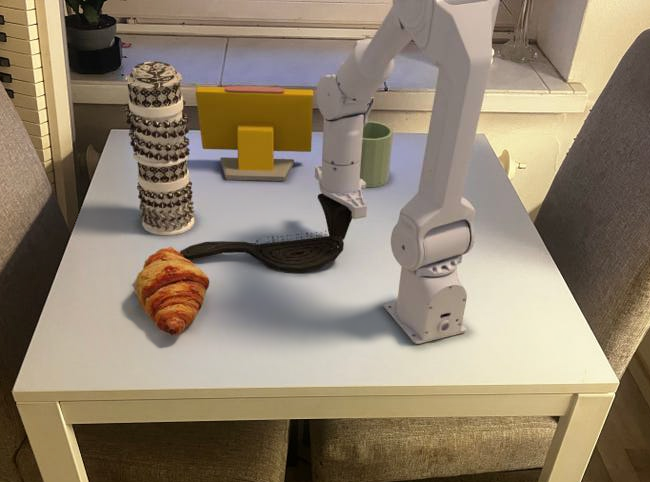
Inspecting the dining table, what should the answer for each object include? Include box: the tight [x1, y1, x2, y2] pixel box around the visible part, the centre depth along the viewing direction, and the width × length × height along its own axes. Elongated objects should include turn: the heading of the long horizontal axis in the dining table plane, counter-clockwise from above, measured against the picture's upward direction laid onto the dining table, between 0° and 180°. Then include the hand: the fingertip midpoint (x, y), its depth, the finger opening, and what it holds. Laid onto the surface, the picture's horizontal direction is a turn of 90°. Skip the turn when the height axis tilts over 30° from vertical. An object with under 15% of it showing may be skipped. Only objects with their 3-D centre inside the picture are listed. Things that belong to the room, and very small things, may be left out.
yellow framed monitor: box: [195, 85, 314, 182], centre depth 136 cm, size 20×8×16 cm, turn 91°
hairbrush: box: [179, 230, 345, 273], centre depth 116 cm, size 8×4×25 cm
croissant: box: [134, 246, 210, 336], centre depth 106 cm, size 21×10×8 cm, turn 12°
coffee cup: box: [360, 120, 394, 188], centre depth 138 cm, size 8×8×9 cm
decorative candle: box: [124, 61, 195, 236], centre depth 117 cm, size 9×9×25 cm
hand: (337, 238), depth 121 cm, fingers closed
